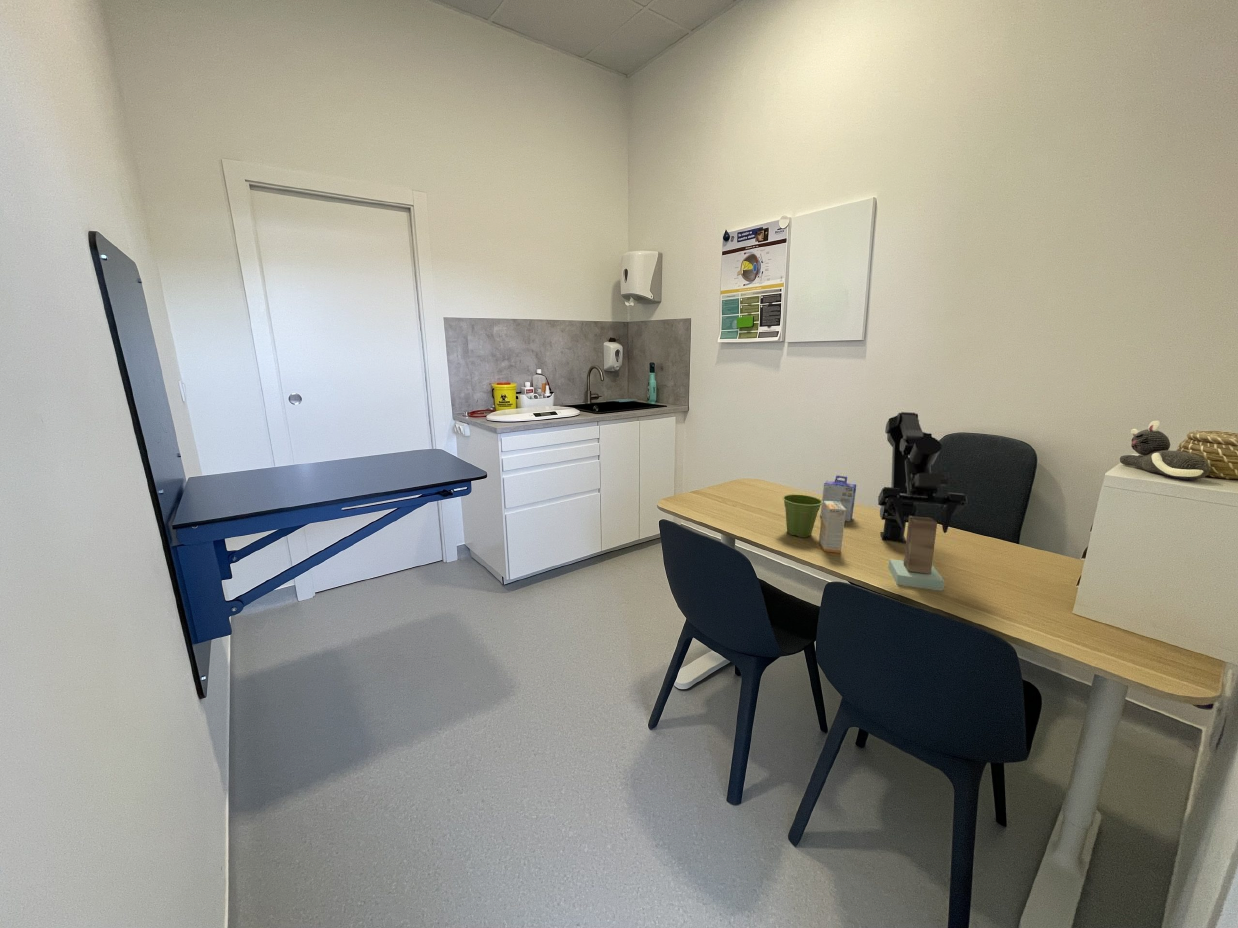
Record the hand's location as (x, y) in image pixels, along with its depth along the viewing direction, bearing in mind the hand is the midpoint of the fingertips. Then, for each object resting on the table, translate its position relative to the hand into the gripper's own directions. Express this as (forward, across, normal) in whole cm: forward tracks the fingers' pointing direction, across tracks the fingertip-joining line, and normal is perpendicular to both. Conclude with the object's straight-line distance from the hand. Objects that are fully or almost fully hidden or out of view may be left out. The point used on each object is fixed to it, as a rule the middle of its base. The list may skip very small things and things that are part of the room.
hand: (924, 529), depth 120 cm
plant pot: (-8, -27, +28) cm, 39 cm away
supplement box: (-2, -18, +21) cm, 28 cm away
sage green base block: (+9, 0, +11) cm, 14 cm away
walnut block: (+7, 0, +9) cm, 11 cm away
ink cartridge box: (-23, -13, +42) cm, 50 cm away
